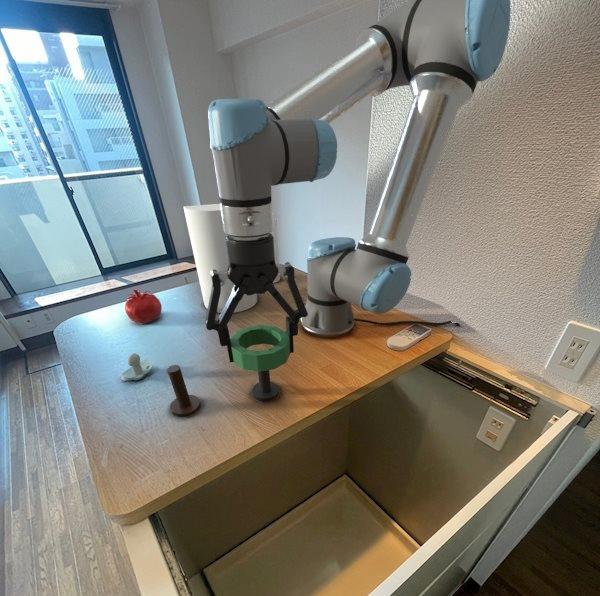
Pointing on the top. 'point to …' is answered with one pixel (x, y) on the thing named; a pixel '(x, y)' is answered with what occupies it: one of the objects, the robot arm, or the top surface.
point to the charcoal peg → (265, 388)
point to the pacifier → (136, 368)
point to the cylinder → (212, 252)
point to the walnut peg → (181, 395)
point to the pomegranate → (143, 307)
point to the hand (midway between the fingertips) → (261, 353)
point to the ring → (260, 358)
